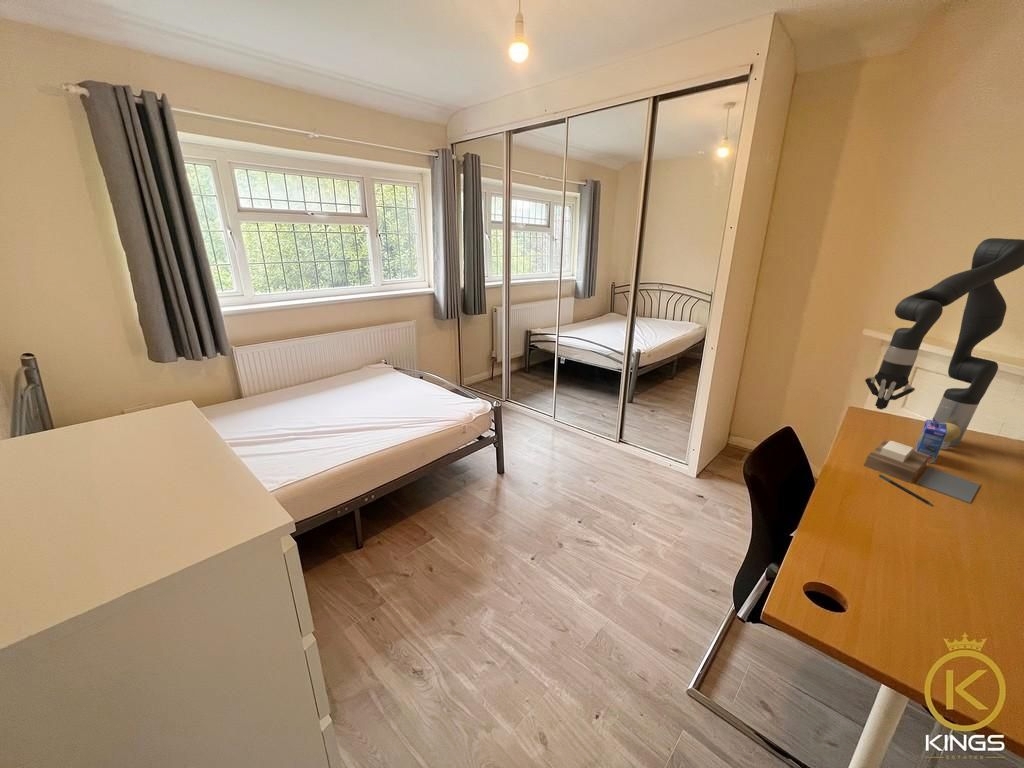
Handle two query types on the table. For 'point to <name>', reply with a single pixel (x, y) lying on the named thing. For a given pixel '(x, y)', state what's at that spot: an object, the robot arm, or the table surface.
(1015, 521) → the table surface
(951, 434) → the light bulb
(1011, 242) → the robot arm
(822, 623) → the table surface
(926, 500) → the pen
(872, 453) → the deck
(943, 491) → the mat
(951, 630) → the table surface
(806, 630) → the table surface
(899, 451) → the cream rectangular block
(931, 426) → the ink cartridge box
